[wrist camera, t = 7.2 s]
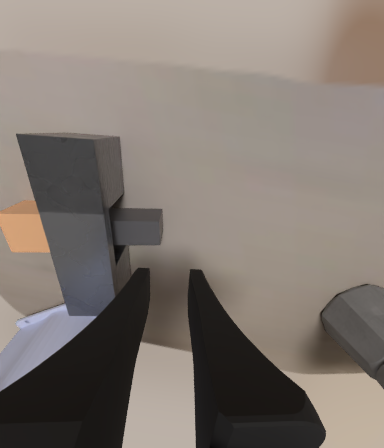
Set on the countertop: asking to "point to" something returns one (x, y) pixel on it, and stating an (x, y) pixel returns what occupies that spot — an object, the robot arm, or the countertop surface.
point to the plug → (119, 218)
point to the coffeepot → (359, 327)
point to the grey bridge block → (79, 213)
